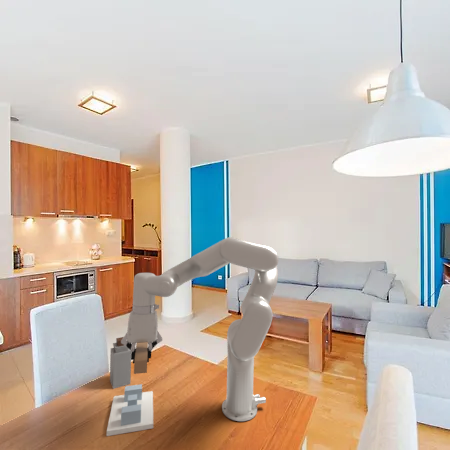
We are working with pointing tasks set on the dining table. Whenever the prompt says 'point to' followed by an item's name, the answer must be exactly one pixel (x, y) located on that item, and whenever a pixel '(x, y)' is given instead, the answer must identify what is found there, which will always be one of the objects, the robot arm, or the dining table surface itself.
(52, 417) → the dining table surface
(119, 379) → the perfume bottle
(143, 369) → the long tan plank
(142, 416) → the stand
